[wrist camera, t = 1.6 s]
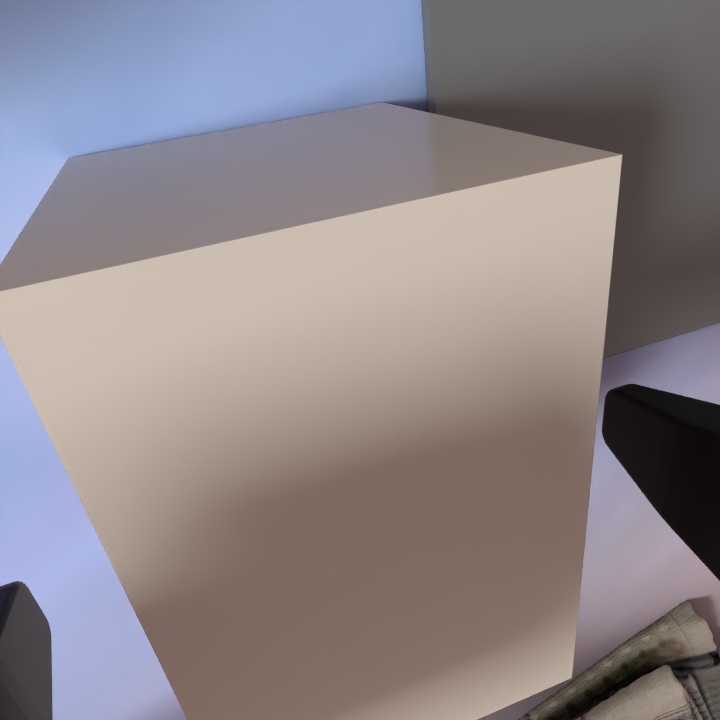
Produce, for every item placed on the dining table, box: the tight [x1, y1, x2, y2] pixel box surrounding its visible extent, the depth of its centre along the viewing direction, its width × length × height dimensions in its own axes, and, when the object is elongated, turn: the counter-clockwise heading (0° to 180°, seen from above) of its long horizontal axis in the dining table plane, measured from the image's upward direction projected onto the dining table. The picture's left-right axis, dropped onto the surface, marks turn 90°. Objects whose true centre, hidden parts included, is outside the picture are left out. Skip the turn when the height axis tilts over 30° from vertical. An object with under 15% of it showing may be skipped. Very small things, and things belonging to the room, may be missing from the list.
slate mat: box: [421, 0, 720, 358], centre depth 14 cm, size 12×12×1 cm
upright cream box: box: [0, 102, 622, 720], centre depth 10 cm, size 9×6×7 cm, turn 8°
